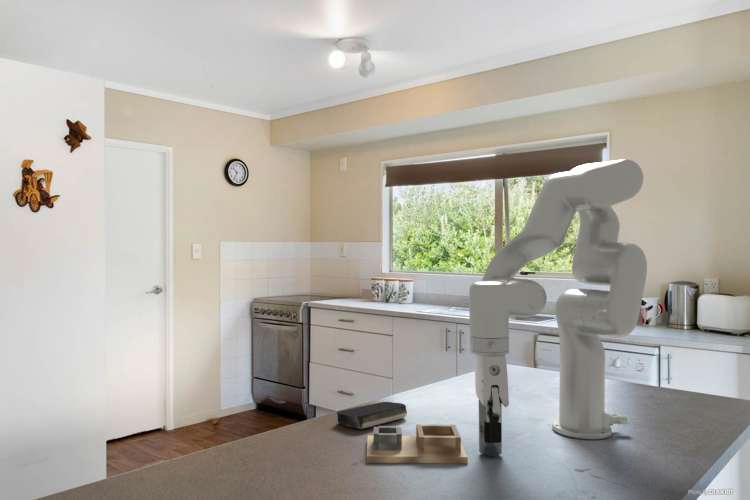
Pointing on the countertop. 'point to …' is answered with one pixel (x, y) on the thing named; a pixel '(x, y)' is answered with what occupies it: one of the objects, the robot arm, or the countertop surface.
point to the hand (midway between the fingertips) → (490, 436)
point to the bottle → (484, 448)
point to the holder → (416, 445)
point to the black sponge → (372, 414)
